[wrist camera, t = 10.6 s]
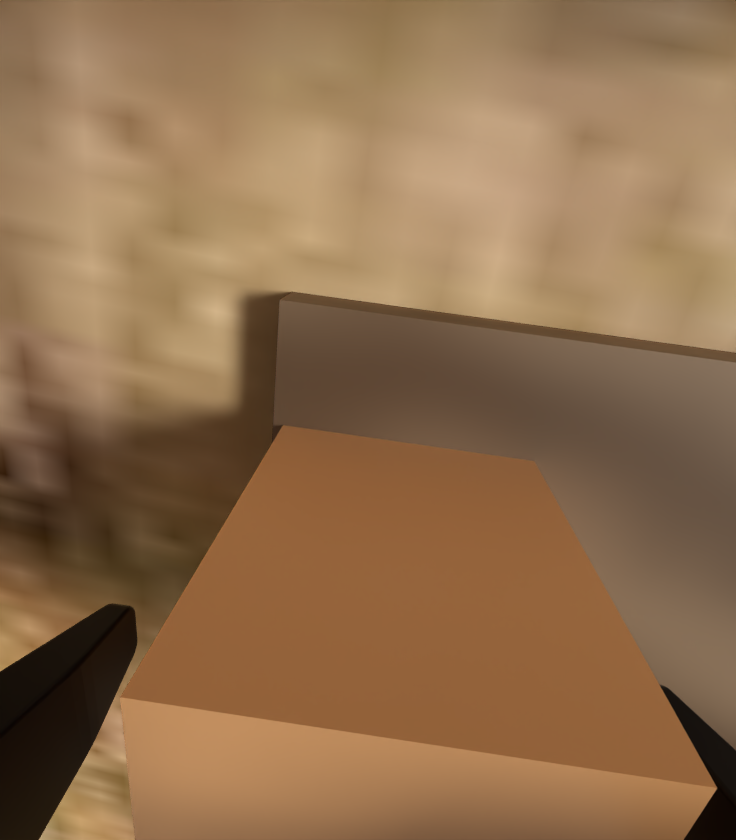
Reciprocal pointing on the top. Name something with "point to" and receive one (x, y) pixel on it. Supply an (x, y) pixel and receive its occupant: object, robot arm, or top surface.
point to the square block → (401, 666)
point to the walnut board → (558, 450)
